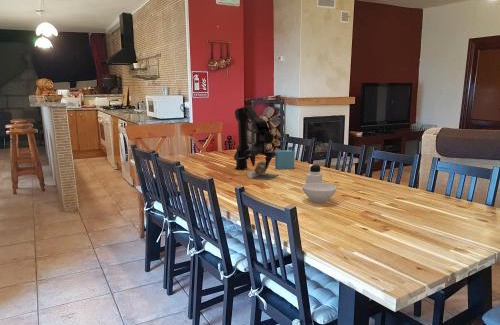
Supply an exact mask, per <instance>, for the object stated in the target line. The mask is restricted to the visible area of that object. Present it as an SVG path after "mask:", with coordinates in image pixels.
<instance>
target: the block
mask: <svg viewBox="0 0 500 325" xmlns="http://www.w3.org/2000/svg"><path fill="white" fill-rule="evenodd" d="M269 166H270V164H269V165H268V167H269ZM268 167H267V168H266V160H262V161H259V162H257V164H256V166H255V168H254V170H253V171H255V172H256V173H258V174H262V173H265V172H266V173H267V170H268Z"/></svg>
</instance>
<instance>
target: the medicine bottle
mask: <svg viewBox="0 0 500 325" xmlns="http://www.w3.org/2000/svg"><path fill="white" fill-rule="evenodd" d="M307 183H323V173H321V165H319V164H310V165H308V173H307V174H306V176H305V184H307Z"/></svg>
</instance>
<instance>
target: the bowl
mask: <svg viewBox="0 0 500 325" xmlns="http://www.w3.org/2000/svg"><path fill="white" fill-rule="evenodd" d="M301 188H302V191H303V193H304V194H305V196H307V197H308V199H309V200H310V201H311V202H312V203H315V204H325V203H327V202H328V201H329V200H330V199H331V198H332V197H333V196H334V195H335V193H336V192H337V186H336V185H334V184H331V183H327V182H326V183H325V182H322V183H307V184H306V183H304V184H302V187H301Z"/></svg>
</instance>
